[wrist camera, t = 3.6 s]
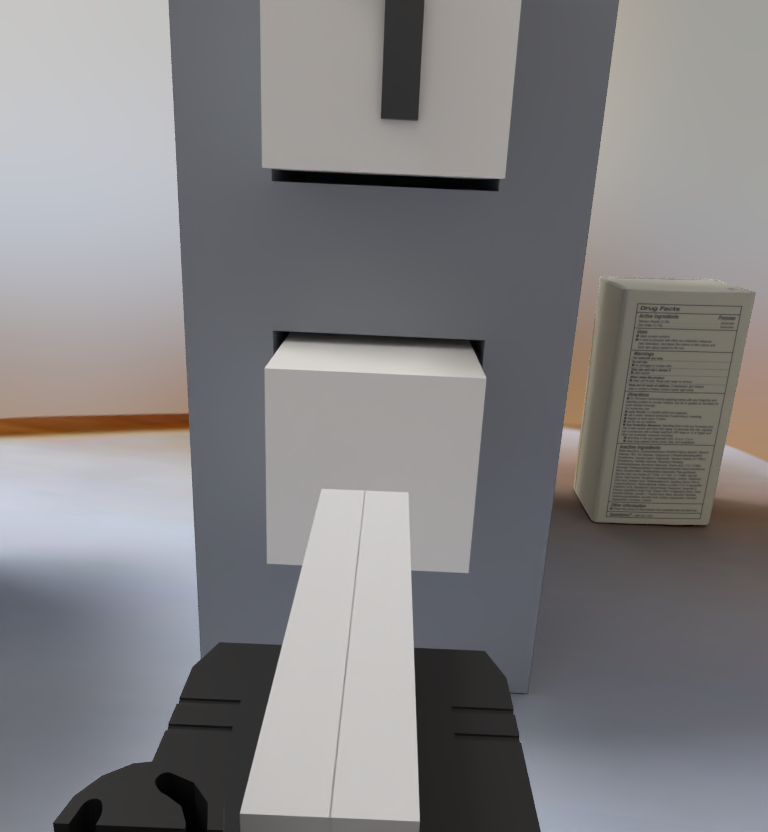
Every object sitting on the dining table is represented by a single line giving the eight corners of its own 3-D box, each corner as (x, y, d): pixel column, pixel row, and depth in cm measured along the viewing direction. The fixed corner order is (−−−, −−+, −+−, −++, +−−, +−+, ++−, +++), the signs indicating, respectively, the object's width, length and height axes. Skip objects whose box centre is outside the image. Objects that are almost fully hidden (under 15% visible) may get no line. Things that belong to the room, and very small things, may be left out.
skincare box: (677, 493, 40) (718, 278, 36) (711, 530, 36) (763, 291, 32) (567, 488, 40) (597, 273, 36) (588, 525, 36) (625, 285, 32)
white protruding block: (260, 167, 15) (256, -127, 14) (298, 171, 21) (299, -34, 19) (506, 178, 15) (533, -115, 14) (475, 179, 21) (492, -25, 19)
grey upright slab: (202, 677, 24) (156, -249, 16) (281, 476, 40) (278, -30, 32) (527, 693, 23) (648, -229, 16) (474, 485, 40) (520, -19, 32)
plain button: (266, 563, 19) (264, 368, 17) (297, 474, 24) (298, 321, 23) (468, 573, 19) (486, 378, 17) (451, 481, 24) (464, 329, 23)
